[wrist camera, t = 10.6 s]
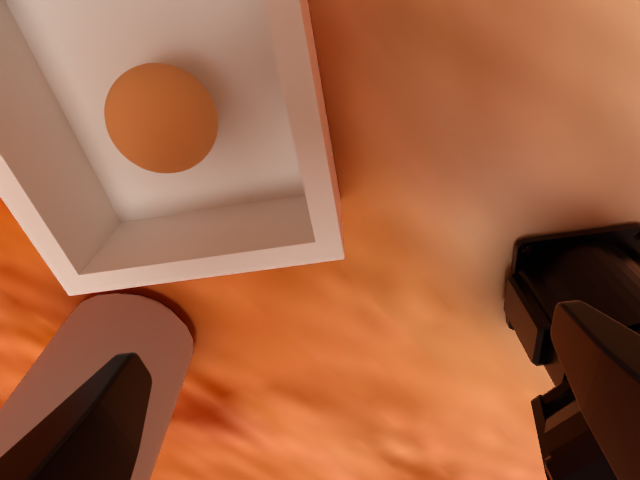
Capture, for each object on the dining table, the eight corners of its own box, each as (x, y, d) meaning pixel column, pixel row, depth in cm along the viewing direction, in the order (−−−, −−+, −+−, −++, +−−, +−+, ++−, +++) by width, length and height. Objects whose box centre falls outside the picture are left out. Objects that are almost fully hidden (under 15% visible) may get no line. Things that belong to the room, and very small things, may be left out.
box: (289, -108, 14) (274, -142, 10) (340, 199, 20) (344, 259, 16) (-26, -35, 15) (-161, -37, 11) (118, 233, 22) (68, 296, 17)
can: (50, 299, 24) (-142, 528, 14) (160, 270, 23) (34, 501, 13) (120, 375, 28) (8, 597, 18) (217, 355, 27) (154, 581, 17)
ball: (209, 45, 16) (178, 65, 12) (238, 142, 18) (219, 182, 15) (113, 63, 16) (58, 88, 13) (153, 157, 18) (115, 199, 15)
